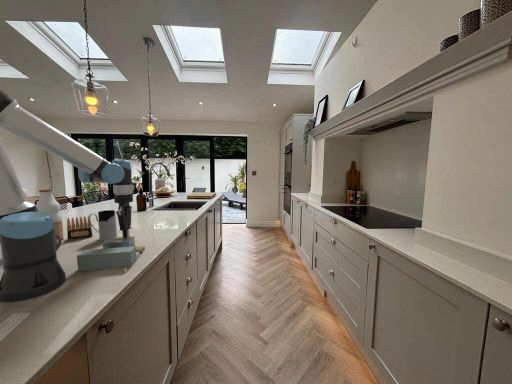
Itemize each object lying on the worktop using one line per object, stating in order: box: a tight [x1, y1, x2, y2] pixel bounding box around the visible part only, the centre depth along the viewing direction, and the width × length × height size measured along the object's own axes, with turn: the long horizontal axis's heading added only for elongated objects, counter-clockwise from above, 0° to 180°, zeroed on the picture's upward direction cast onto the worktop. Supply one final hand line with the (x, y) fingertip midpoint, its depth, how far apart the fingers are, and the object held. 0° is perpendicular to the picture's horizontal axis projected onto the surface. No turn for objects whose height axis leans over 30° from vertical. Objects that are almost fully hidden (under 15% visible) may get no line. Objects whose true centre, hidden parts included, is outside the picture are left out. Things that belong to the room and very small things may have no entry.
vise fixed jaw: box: [76, 245, 141, 272], centre depth 87 cm, size 10×18×6 cm, turn 102°
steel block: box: [101, 239, 133, 249], centre depth 94 cm, size 4×10×7 cm, turn 102°
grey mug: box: [88, 209, 119, 242], centre depth 119 cm, size 9×14×15 cm, turn 89°
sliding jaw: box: [113, 235, 146, 254], centre depth 99 cm, size 7×18×6 cm, turn 102°
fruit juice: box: [35, 188, 65, 246], centre depth 107 cm, size 9×9×28 cm
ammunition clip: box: [66, 215, 94, 241], centre depth 120 cm, size 11×2×12 cm, turn 122°
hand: (126, 242), depth 104 cm, fingers closed
